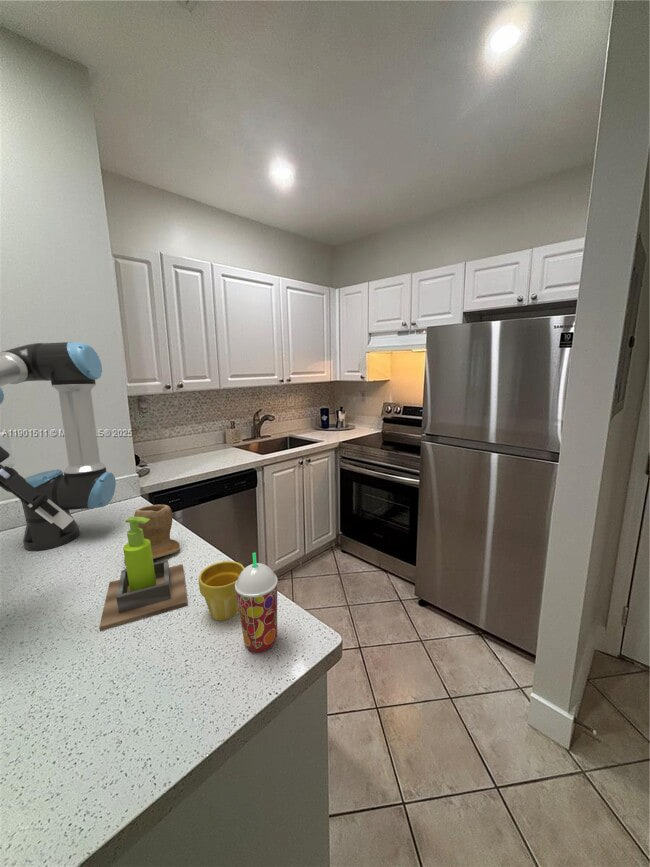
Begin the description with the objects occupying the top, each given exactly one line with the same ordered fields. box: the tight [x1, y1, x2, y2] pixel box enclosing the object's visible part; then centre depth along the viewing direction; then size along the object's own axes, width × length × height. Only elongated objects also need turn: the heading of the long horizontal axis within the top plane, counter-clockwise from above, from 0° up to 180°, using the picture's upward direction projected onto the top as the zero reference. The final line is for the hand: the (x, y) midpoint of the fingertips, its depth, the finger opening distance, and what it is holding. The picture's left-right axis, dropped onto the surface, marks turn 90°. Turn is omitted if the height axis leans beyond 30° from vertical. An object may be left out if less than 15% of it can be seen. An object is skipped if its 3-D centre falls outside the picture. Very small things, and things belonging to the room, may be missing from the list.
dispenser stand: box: [98, 559, 188, 632], centre depth 88 cm, size 18×18×5 cm
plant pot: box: [198, 560, 245, 621], centre depth 81 cm, size 10×10×10 cm
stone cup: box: [123, 504, 181, 567], centre depth 106 cm, size 15×12×15 cm
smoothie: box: [235, 552, 279, 653], centre depth 71 cm, size 8×8×20 cm
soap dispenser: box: [122, 516, 156, 592], centre depth 86 cm, size 6×7×20 cm
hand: (62, 521), depth 80 cm, fingers open, 13 cm apart
